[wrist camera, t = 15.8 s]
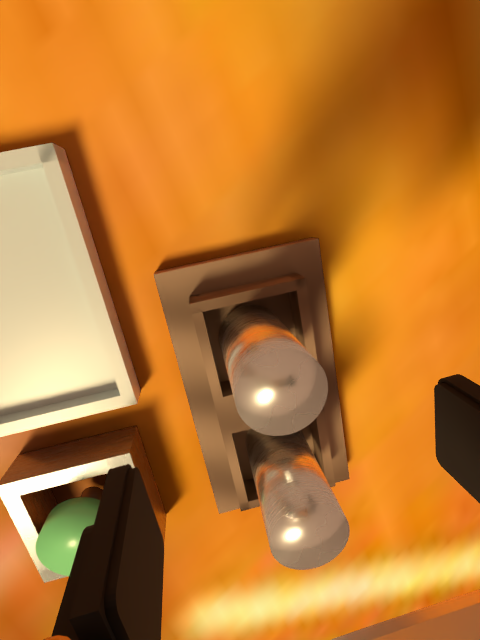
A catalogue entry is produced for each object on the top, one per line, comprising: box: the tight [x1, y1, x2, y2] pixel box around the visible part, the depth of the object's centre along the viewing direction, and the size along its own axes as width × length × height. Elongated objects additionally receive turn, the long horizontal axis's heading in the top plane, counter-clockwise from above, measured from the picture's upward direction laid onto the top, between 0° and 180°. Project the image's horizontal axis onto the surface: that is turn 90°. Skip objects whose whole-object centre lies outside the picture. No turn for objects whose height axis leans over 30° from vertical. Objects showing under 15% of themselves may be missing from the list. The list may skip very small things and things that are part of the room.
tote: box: [0, 143, 141, 437], centre depth 21 cm, size 15×10×2 cm, turn 11°
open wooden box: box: [0, 426, 166, 583], centre depth 24 cm, size 8×8×3 cm
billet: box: [219, 304, 328, 436], centre depth 19 cm, size 4×4×8 cm
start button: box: [35, 487, 103, 576], centre depth 23 cm, size 4×4×4 cm
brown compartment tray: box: [154, 237, 349, 514], centre depth 24 cm, size 18×10×3 cm, turn 11°
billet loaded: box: [246, 429, 349, 570], centre depth 21 cm, size 4×4×8 cm
